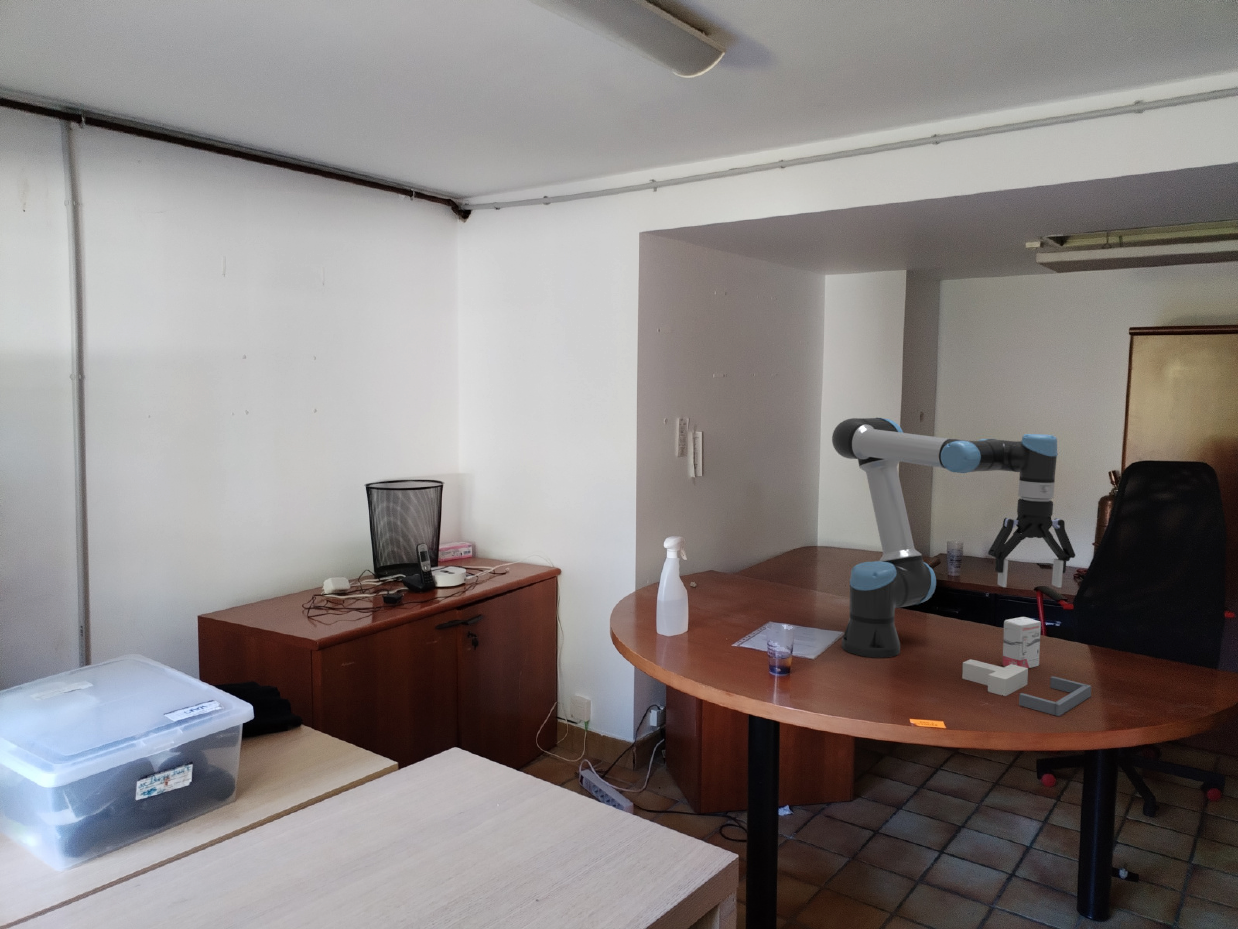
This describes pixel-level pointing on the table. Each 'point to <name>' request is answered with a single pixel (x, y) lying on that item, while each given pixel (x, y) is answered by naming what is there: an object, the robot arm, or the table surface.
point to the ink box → (1021, 642)
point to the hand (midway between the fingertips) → (1029, 586)
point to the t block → (996, 676)
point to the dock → (1058, 708)
